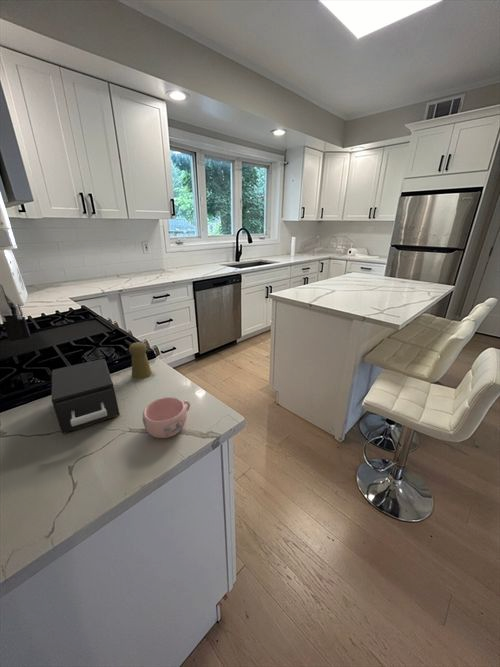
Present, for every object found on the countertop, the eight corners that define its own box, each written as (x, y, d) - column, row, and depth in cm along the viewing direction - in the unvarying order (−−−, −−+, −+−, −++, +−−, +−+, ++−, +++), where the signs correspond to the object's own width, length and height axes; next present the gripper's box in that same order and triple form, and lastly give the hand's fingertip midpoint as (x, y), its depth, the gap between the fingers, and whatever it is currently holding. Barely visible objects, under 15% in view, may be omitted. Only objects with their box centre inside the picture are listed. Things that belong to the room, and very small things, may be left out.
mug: (159, 451, 61) (155, 429, 58) (137, 429, 67) (133, 409, 65) (202, 423, 69) (201, 404, 66) (179, 406, 75) (177, 388, 73)
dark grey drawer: (121, 427, 66) (115, 400, 63) (64, 446, 60) (55, 417, 57) (108, 388, 81) (103, 364, 78) (63, 400, 75) (55, 376, 72)
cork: (135, 381, 86) (130, 349, 82) (129, 373, 91) (124, 343, 86) (154, 375, 90) (150, 344, 86) (147, 367, 94) (143, 338, 90)
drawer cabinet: (119, 415, 72) (113, 383, 68) (62, 433, 65) (51, 400, 61) (110, 386, 84) (104, 358, 80) (61, 399, 77) (52, 369, 74)
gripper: (9, 242, 44) (41, 347, 51) (19, 237, 55) (44, 323, 62) (-58, 244, 40) (-12, 357, 47) (-32, 238, 51) (1, 330, 58)
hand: (20, 338), depth 55 cm, fingers closed
